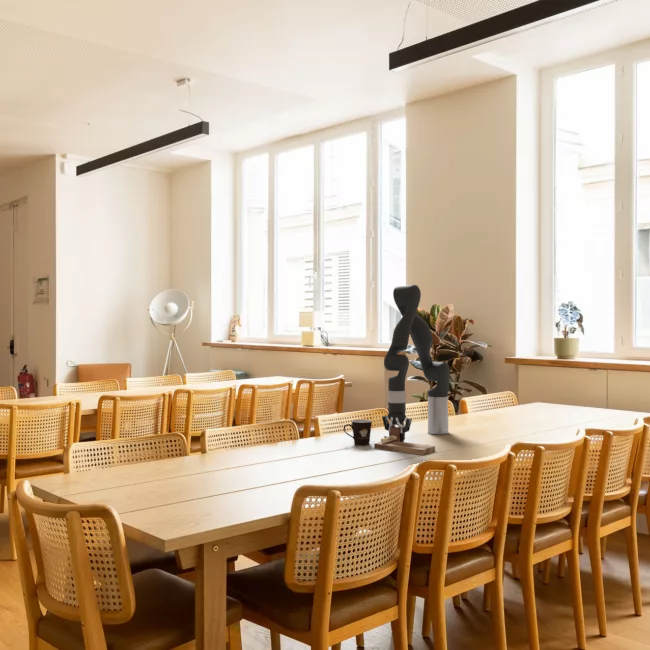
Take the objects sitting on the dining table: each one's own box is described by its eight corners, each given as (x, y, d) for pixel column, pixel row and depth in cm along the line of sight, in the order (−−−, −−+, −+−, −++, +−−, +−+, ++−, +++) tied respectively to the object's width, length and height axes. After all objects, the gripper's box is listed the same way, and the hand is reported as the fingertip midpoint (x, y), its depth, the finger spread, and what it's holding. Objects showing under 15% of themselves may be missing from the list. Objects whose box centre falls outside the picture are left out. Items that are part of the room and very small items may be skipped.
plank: (387, 444, 305) (387, 440, 305) (434, 451, 291) (434, 446, 291) (374, 448, 297) (374, 443, 297) (422, 455, 283) (422, 449, 283)
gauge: (395, 442, 308) (395, 426, 308) (403, 443, 305) (403, 427, 305) (379, 447, 298) (378, 430, 298) (387, 448, 296) (387, 431, 295)
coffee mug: (373, 442, 310) (373, 419, 310) (369, 446, 302) (369, 422, 301) (347, 441, 313) (347, 418, 313) (343, 445, 305) (342, 421, 304)
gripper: (415, 401, 303) (415, 441, 304) (387, 399, 312) (387, 438, 313) (406, 403, 297) (406, 444, 298) (377, 400, 306) (378, 440, 307)
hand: (396, 440), depth 305 cm, fingers closed on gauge, 4 cm apart
